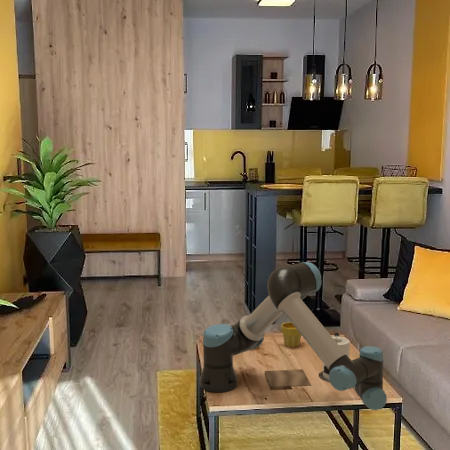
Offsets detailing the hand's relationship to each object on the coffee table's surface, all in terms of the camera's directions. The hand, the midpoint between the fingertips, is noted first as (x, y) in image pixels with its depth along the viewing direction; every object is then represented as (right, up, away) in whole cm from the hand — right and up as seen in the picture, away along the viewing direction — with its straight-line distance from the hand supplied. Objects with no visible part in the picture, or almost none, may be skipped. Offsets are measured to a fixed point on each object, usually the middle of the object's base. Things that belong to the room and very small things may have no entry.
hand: (344, 360), depth 226 cm
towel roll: (-1, -9, +13) cm, 16 cm away
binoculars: (+1, -7, +36) cm, 37 cm away
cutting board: (-21, -11, +11) cm, 26 cm away
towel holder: (-1, -10, +13) cm, 16 cm away
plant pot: (-14, -5, +52) cm, 55 cm away
